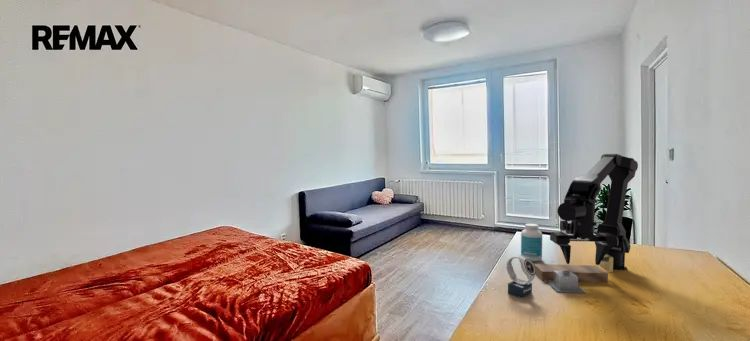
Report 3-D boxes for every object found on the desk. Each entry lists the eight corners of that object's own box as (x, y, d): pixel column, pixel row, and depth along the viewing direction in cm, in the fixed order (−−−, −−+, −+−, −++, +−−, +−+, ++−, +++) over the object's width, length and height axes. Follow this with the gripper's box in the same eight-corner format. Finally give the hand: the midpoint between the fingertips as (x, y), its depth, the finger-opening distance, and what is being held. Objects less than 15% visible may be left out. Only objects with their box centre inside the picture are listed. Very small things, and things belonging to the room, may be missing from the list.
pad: (572, 282, 107) (572, 281, 106) (585, 293, 99) (585, 292, 99) (546, 281, 107) (546, 280, 107) (557, 292, 99) (557, 291, 99)
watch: (528, 300, 94) (529, 262, 94) (502, 291, 101) (503, 255, 100) (538, 295, 98) (539, 258, 97) (512, 286, 104) (513, 251, 103)
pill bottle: (545, 262, 126) (546, 226, 125) (525, 262, 126) (526, 227, 125) (536, 256, 133) (537, 222, 132) (517, 256, 133) (518, 222, 132)
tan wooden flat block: (603, 266, 112) (604, 252, 112) (612, 271, 107) (613, 257, 107) (597, 266, 112) (597, 252, 112) (606, 271, 107) (606, 257, 107)
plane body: (595, 274, 113) (596, 265, 113) (607, 282, 106) (608, 273, 106) (534, 272, 115) (534, 264, 115) (541, 280, 108) (542, 271, 108)
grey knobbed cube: (569, 283, 105) (570, 269, 105) (577, 290, 100) (578, 275, 100) (553, 282, 106) (553, 268, 105) (560, 289, 101) (560, 274, 101)
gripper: (600, 213, 116) (598, 257, 117) (544, 212, 118) (543, 255, 119) (620, 219, 105) (618, 268, 106) (557, 219, 107) (556, 266, 108)
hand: (582, 264), depth 110 cm, fingers open, 9 cm apart
